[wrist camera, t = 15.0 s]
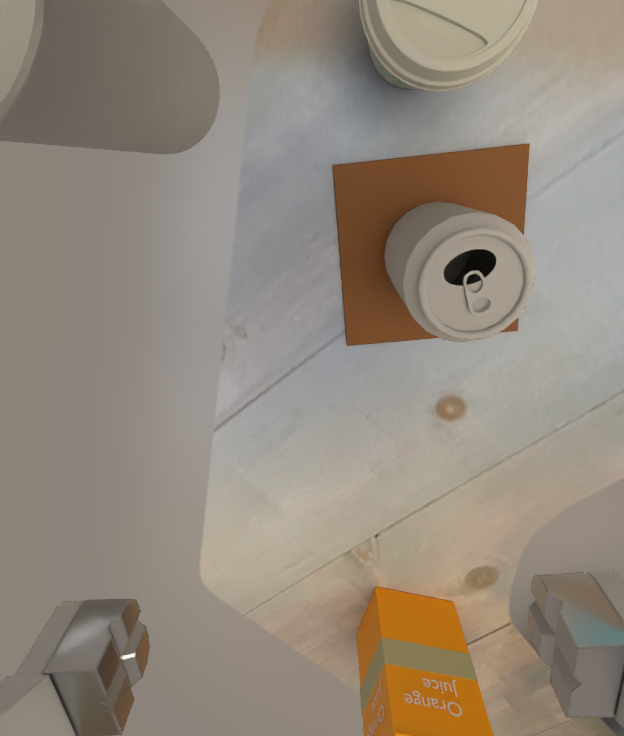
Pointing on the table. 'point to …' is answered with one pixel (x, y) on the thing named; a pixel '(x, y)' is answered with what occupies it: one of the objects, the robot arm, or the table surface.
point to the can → (460, 270)
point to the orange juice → (417, 669)
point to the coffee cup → (442, 39)
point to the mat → (391, 202)
